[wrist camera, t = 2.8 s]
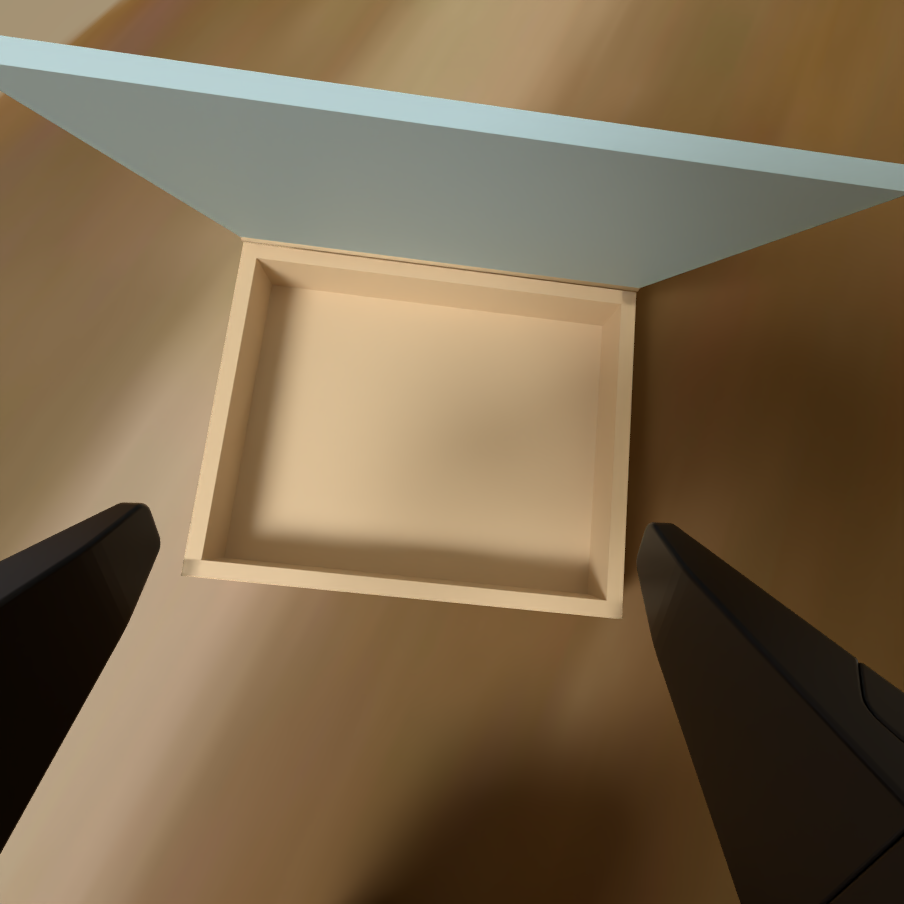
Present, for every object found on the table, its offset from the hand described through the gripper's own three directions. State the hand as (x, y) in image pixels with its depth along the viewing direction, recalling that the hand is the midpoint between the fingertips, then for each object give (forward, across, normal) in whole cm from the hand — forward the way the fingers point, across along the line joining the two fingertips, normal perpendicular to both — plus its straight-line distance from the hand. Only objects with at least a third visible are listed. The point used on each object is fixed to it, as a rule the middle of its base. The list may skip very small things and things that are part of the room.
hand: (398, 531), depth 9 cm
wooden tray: (+12, 0, +5) cm, 13 cm away
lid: (+8, -1, -4) cm, 9 cm away
